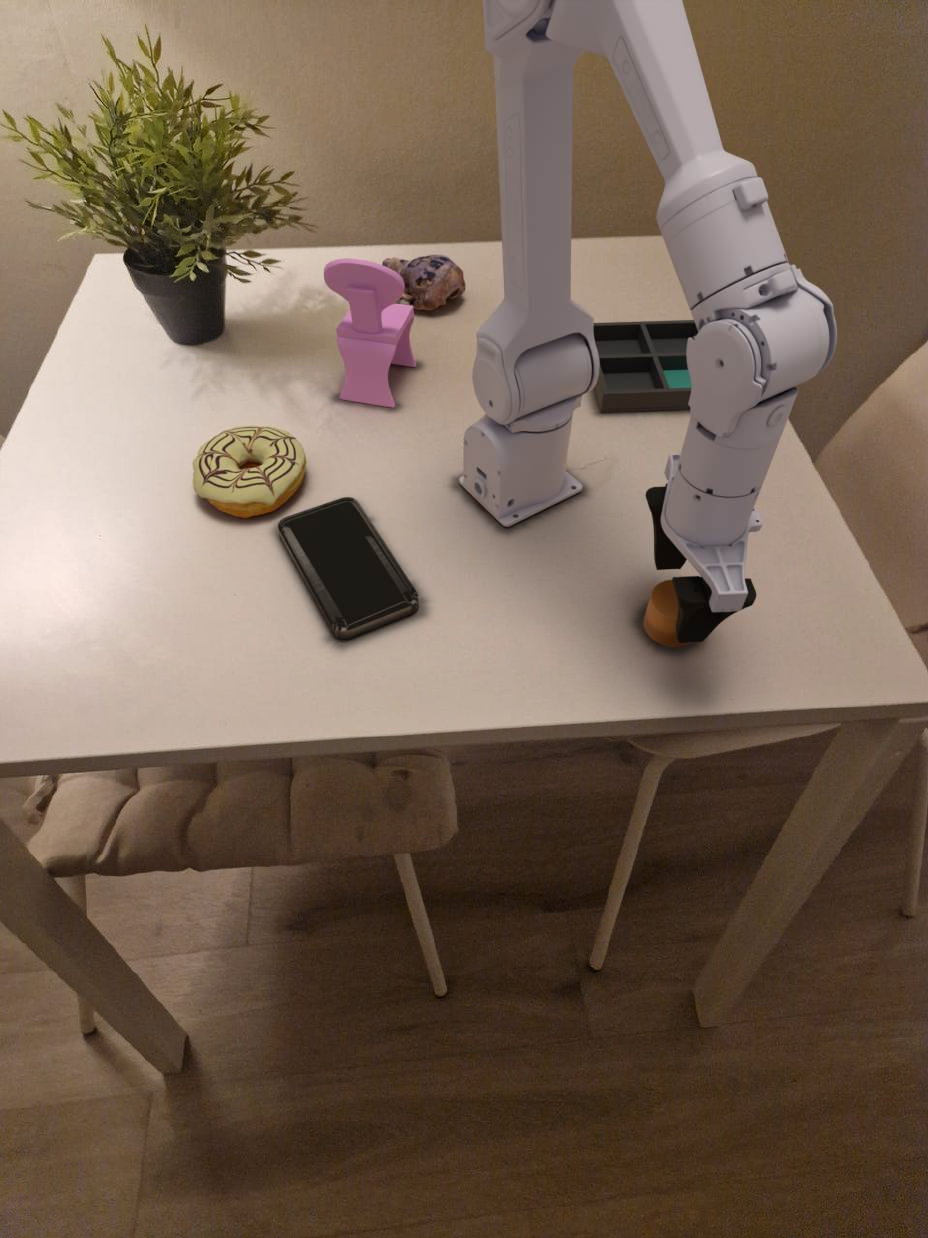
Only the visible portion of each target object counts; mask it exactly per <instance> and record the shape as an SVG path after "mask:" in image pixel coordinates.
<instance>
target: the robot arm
mask: <svg viewBox="0 0 928 1238" xmlns="http://www.w3.org/2000/svg"><path fill="white" fill-rule="evenodd" d="M482 11H483V12H482V13H483V14H482V16H483V27H484V29H483V31H484V47H485V51H486V52H487V53H489V54H490V55H493V75H494V77H493V78H494V96H495V97H494V98H495V99H494V100H495V118H496V119H495V121H496V142H497V143H496V144H497V162H498V163H497V164H498V185H499V205H500V207H499V208H500V227H501V228H500V229H501V249H502V250H501V252H502V272H503V273H502V275H503V294H504V297H503V299H502V301H501V302H500V304H499V305H498V306H497V307H496V308H495V309H494V311H493V312H492V313H491V314H490V315H489V316H488V318H487V319H486V320H485V321H484V322H483V323H482V325H480V327H479V328H478V330H477V331H476V336H475V337H476V353H475V354H476V355H475V358H474V362H473V367H472V376H471V377H472V385H473V390H474V394H475V396H476V399H477V401H478V404H479V405H480V407H481V409H482V411H483V413H485V414H484V415H483V416H482V417H481V418H480V419H478V420H477V421H476V422H474V423H472V424H471V425H470V426H468V427H467V428H466V430H465V431H464V435H463V475H462V476H460V477H459V478H458V483H459V485H460V486H462V488H464V490H466V491H467V492H468V493H469V494H470V495H471V496H472V497H473V498H474V499H475V500H476V501H477V503H479V504H480V505H481V506H483V508H484V509H485V510H486V511H487V512H488V513H489V514H491V515H492V516H493V518H494V519H496V520H497V521H498V523H500V524H501V525H502V526H503V527H506V528H507V527H511V526H513V525H515V524H517V523H519V522H521V521H523V520H525V519H527V518H529V517H531V516H533V515H535V514H537V513H540V512H541V511H544V510H546V509H547V508H550V507H551V506H554V505H555V504H556V505H557V504H558V503H560V502H562V501H564V500H566V499H568V498H570V497H572V496H574V495H577V494H578V493H580V492H582V491H583V489H584V488H583V487H584V486H583V485H584V484H582V483H581V482H580V481H579V480H578V479H577V478H576V477H574V476H573V475H572V474H570V473H569V472H568V471H567V462H568V456H569V455H568V454H569V447H570V440H571V432H572V426H573V425H572V424H573V418H574V417H573V416H574V412H575V410H577V409H579V408H581V406H582V397H583V395H585V394H588V393H590V392H591V391H593V390H594V387H595V385H596V383H597V380H598V377H599V367H600V362H599V354H598V350H597V347H596V344H595V340H594V333H593V325H594V323H595V322H594V321H595V320H594V317H593V315H592V314H591V313H590V312H589V311H588V310H587V309H586V308H585V307H583V306H582V305H581V304H580V303H579V302H578V303H577V302H576V301H574V300H573V299H571V297H572V296H571V295H572V294H571V293H572V292H571V291H572V290H571V289H572V288H571V287H572V211H573V210H572V208H573V207H572V206H573V205H572V203H573V201H572V200H573V195H572V194H573V193H572V192H573V112H574V111H573V110H574V109H573V104H574V68H575V65H576V63H577V62H578V60H579V59H580V58H581V57H582V56H583V55H584V53H585V52H586V51H587V52H591V53H594V54H598V55H601V56H604V57H605V58H606V59H607V60H608V63H609V65H610V68H611V70H612V71H613V74H614V75H615V78H616V80H617V82H618V84H619V87H620V89H621V90H622V93H623V95H624V97H625V99H626V101H627V104H628V105H629V108H630V109H631V112H632V114H633V116H634V118H635V121H636V123H637V125H638V127H639V129H640V131H641V133H642V136H643V137H644V140H645V142H646V145H647V146H648V148H649V150H650V153H651V155H652V158H653V159H654V162H655V163H656V165H657V168H658V170H659V172H660V175H661V176H662V179H663V181H664V187H663V192H662V195H661V198H660V201H659V204H658V208H657V211H656V214H655V215H656V216H655V220H656V224H657V225H658V228H659V231H660V234H661V236H662V240H663V241H664V244H665V247H666V250H667V253H668V255H669V258H670V260H671V263H672V265H673V268H674V271H675V273H676V276H677V279H678V281H679V284H680V287H681V290H682V292H683V294H684V297H685V300H686V303H687V305H688V308H689V311H690V313H691V316H692V318H693V319H692V320H694V321H695V324H696V327H697V329H698V334H697V335H696V336H694V337H693V339H692V338H691V337H690V338H688V342H687V350H686V357H687V366H688V371H689V374H690V378H691V384H692V390H691V395H690V399H689V403H688V405H689V406H690V407H691V409H689V414H690V418H689V421H688V426H687V429H686V432H685V436H684V440H683V444H682V447H681V451H680V453H669V454H668V457H667V461H666V463H665V464H666V465H665V469H664V476H665V479H666V480H667V483H665V485H664V486H663V485H662V486H652V487H649V488H648V489H646V492H645V499H646V502H647V505H648V509H649V511H650V513H651V520H652V526H653V527H652V528H653V559H654V560H653V561H654V565H655V569H656V571H667V570H681V569H682V568H683V566H685V564H686V562H687V561H688V562H689V564H690V565H691V567H693V569H694V570H695V571H696V572H697V573H698V575H688V576H687V575H686V576H673V577H672V579H671V580H672V583H673V586H674V590H675V593H676V596H677V599H678V615H677V621H676V636H677V639H678V642H679V643H688V644H690V643H691V644H692V643H703V642H704V641H705V640H706V639H707V638H709V636H710V635H711V634H712V633H713V631H714V630H715V629H716V628H718V626H719V625H721V624H722V623H723V622H724V621H725V620H727V619H728V618H729V617H731V616H733V615H734V614H736V613H738V612H741V611H743V610H744V609H747V608H749V607H752V606H753V605H754V603H755V601H756V598H757V590H756V588H755V586H754V583H753V581H752V578H750V577H747V578H746V564H747V563H746V562H747V552H748V543H749V542H748V541H749V534H750V533H756V532H760V531H761V529H762V526H763V524H764V521H763V518H762V516H761V514H760V512H759V509H758V508H757V507H755V506H756V503H757V501H758V497H759V496H760V493H761V489H762V488H763V485H764V482H765V479H766V477H767V474H768V472H769V469H770V467H771V464H772V461H773V460H774V456H775V453H776V451H777V448H778V446H779V444H780V440H781V438H782V436H783V433H784V430H785V427H786V425H787V422H788V420H789V417H790V414H791V412H792V409H793V407H794V404H795V401H796V399H797V396H798V394H799V391H800V390H799V388H798V387H797V386H799V385H801V384H803V383H806V382H808V381H810V380H812V379H813V378H814V377H816V376H819V374H821V373H822V372H823V371H824V370H825V369H826V368H827V367H828V366H829V364H830V363H831V361H832V359H833V357H834V355H835V351H836V348H837V342H838V327H837V321H836V318H835V311H834V305H833V302H832V301H831V300H830V297H829V296H828V295H827V294H826V293H825V292H824V291H823V290H822V289H821V288H820V287H818V286H817V285H815V284H813V283H812V282H810V281H808V280H807V279H806V278H805V277H804V274H803V272H802V269H801V268H797V266H796V264H790V262H789V258H788V257H787V253H786V251H785V247H784V245H783V243H782V240H781V237H780V234H779V231H778V228H777V225H776V223H775V220H774V217H773V214H772V211H771V209H770V205H769V203H768V200H769V194H768V191H767V188H766V186H765V183H764V180H763V178H762V177H760V176H758V173H757V170H756V167H755V165H754V164H753V163H752V162H751V161H749V160H746V159H744V158H742V157H740V156H736V155H734V154H733V153H730V152H727V151H726V150H725V149H724V147H723V142H722V140H721V139H722V138H721V136H720V132H719V128H718V125H717V122H716V121H717V120H716V118H715V114H714V109H713V107H712V103H711V100H710V96H709V91H708V90H707V89H708V88H707V85H706V82H705V77H704V74H703V70H702V66H701V63H700V60H699V56H698V52H697V49H696V45H695V42H694V38H693V35H692V29H691V27H690V24H689V20H688V17H687V13H686V9H685V5H684V1H683V0H482Z"/></svg>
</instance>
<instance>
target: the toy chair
mask: <svg viewBox="0 0 928 1238" xmlns="http://www.w3.org/2000/svg"><path fill="white" fill-rule="evenodd" d="M323 279H324V283H325V285H326V286H327V287H328V288H329V289H330V290H331V291H333V292H334V293H336V294H338V295H339V296H340V297H341V298H343V299H344V300H345V301H346V302H348V305H349V310H348V311H347V313H346V314H345V316H344V317H343V318H342V319H341V321H340V322H339V323H338V325H337V327H336V345H337V348H338V351H339V353H340V355H341V359H342V361H343V364H344V370H345V376H344V382H343V386H342V390H341V392H340V394H339V400H343V401H348V402H349V401H350V402H354V403H361V404H367V405H373V406H379V407H386V408H393V409H394V408H395V407H396V403H395V400H394V398H393V396H392V392H391V388H390V385H389V384H390V383H389V370H390V366H391V364H392V365H398V366H405V367H411V368H416V367H417V362H416V359H415V355H414V353H413V349H412V345H411V338H410V337H411V336H410V335H411V329H412V326H413V324H414V321H415V313H414V311H415V310H414V309H415V308H413V306H411V305H410V304H403V303H397V302H398V301H400V300H401V299H402V298H401V297H402V295H403V292H404V288H405V284H404V281H403V278H402V277H401V276H400V275H399V274H398V273H396V272H395V271H393V270H392V269H390V268H388V267H385V266H383V265H382V264H380V263H377V262H374V261H370V260H365V259H359V258H350V257H347V258H338V259H334V260H331V261H328V263H326V264H325V266H324V268H323Z"/></svg>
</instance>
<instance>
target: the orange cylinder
mask: <svg viewBox="0 0 928 1238" xmlns="http://www.w3.org/2000/svg"><path fill="white" fill-rule="evenodd" d="M645 610H646V611H645V614H644V617H643V620H642V621H643V623H642V624H643V629H644V631H645V634H647V636H648V637H649V638H650V639H651V640H652V641H654V642H655V643H657V644H658V645H661V646H664V647H668V648H679V647H684V646H686V645H688V644H689V643H679V642H678V639H677V636H676V621H677V615H678V599H677V596H676V593H675V590H674V586H673V583H672V579H666V580H663V581H661V582H659V583H657V584H656V585H654V587H652V590H651V593H650V596H649V600H648V603H647V607H646V609H645Z"/></svg>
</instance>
